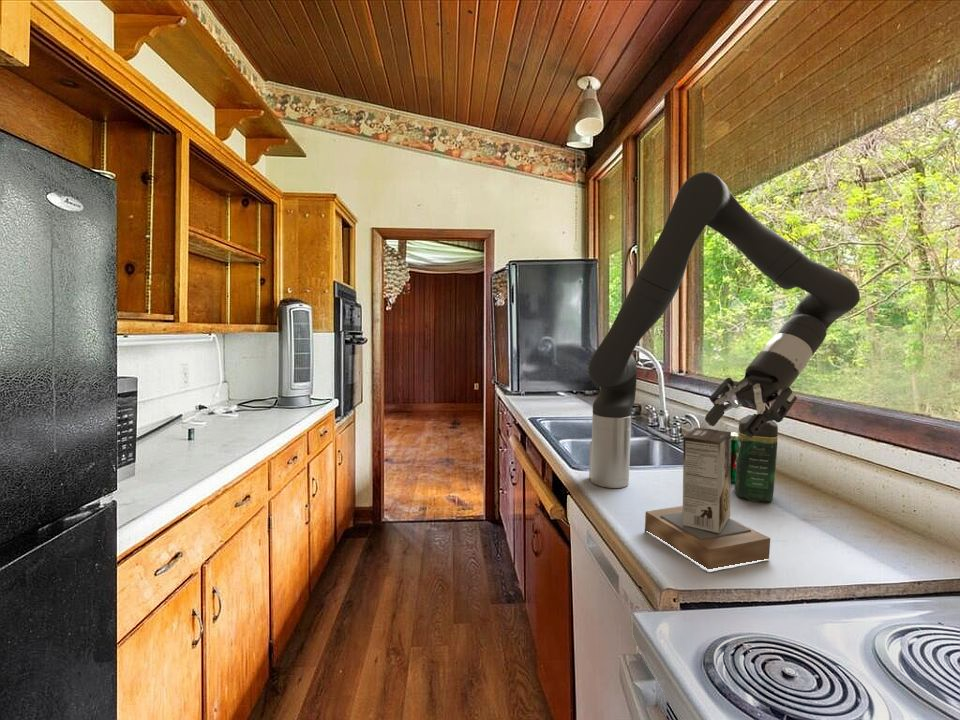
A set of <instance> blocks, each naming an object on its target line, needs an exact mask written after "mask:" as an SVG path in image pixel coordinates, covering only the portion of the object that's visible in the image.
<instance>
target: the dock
mask: <svg viewBox="0 0 960 720" xmlns="http://www.w3.org/2000/svg"><path fill="white" fill-rule="evenodd" d="M644 520H645V523H644V531H645V530H646V531H648V532H650V533H652V534H653V535H655V536H657V537H659V538H660V539H662V540H663V541H665V542H667V543H668V544H670V545H671V546H673V547H674V548H676V549H677V550H679V551H680V552H682V553H683V554H685V555H687V556H688V557H690V558H691V559H693V560H694V561H696V562H698V563H699V564H701V565H703V566H704V567H706V568H707V569H713V568H718V567H724V566H729V565H735V564H740V563H746V562H752V561H757V560H764V559H769V560H770V553H771V552H770V549H771V537H769V536H767V535H765V534H763V533H761V532H759V531H757V530H755V529H753V528H750V527H749V526H747V525H744V524H743V523H741V522H738V521H737V520H735V519H733V518H730V517H729V519H728V521H727V522H726V524H725V525H724V527H723V529H722V530H721V532H720V533H715V532H711V531H706V530H702V529H698V528H693V527H689V526H685V525H683V505H679V506H674V507H672V506H671V507H665V508H659V509H653V510H646V511H645V519H644Z"/></svg>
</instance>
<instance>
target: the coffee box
mask: <svg viewBox="0 0 960 720" xmlns="http://www.w3.org/2000/svg"><path fill="white" fill-rule="evenodd" d="M731 432H732V431H724V430H718V429H713V428H704V427H695V428H693V429H692V430H691V431H690V432H689V433H686V435H684V436H683V448H682V449H683V452H682V453H683V454H682V455H683V458H682V459H683V463H682V465H683V466H682V467H683V468H682V471H683V472H682V506H683V525H685V526H689V527H693V528H698V529H702V530H706V531H711V532H715V533H720V532H721V530H722V529H723V527H724V525H725V524H726V522H727V521H728V519H729V518H730V517H731V487H732V486H731V484H732V483H731Z"/></svg>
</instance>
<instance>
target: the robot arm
mask: <svg viewBox="0 0 960 720" xmlns="http://www.w3.org/2000/svg"><path fill="white" fill-rule="evenodd" d="M674 199H675V200H674V202H673V204H672V206H671V207H672V208H671V210H670V212H669V215H668V217H667V219H666V222H665V224H664V226H663V229H662V231H661V232H660V234H659V237H658V238H657V240H656V241H655V243H654V245H653V246H652V249H651V250H650V252H649V254H648V256H647V257H646V259H645V261H644V263H643V264H642V267H641V268H640V270H639V272H638V274H637V275H636V277H635V279H634V281H633V282H632V285H631V287H630V288H629V291H628V293H627V295H626V298H625V300H624V301H623V303H622V305H621V307H620V309H619V311H618V313H617V315H616V317H615V320H614V321H613V323H612V325H611V326H610V328H609V330H608V332H607V334H606V335H605V337H604V338H603V339H602V341H601V342H600V344H599V346H598V347H597V349H596V350H595V352H594V353H593V355H592V356H591V358H590V361H589V364H588V376H589V379H590V381H591V382H592V384H594V385H595V386H596V387H598V388H600V389H599V394H598V395H597V397H596V399H595V400H594V401H593V403H592V419H591V420H592V421H591V423H592V424H591V425H592V427H591V440H590V442H589V468H588V469H589V471H588V473H589V474H588V477H589V479H590V482H591V483H592V484H594V485H596V486H599V487H603V488H609V489H610V488H611V489H621V488H625V487H627V486H628V485H629V481H630V461H631V460H630V459H631V458H630V456H631V440H632V439H631V435H632V433H631V432H632V410H633V409H632V408H633V406H634V403H635V401H636V391H637V378H638V367H637V361H636V359H635V356H633V353H634V350H635V349H636V347H637V345H638V343H639V342H640V340H641V339H643V337H644V336H645V335H646V334H647V332H648V331H649V330H650V329H652V327H653V326H654V325H655V324H656V323H657V322H658V321H659V320H660V318H661V317H662V316H663V314H664V313H665V312H666V311H667V309H668V308H669V306H670V304H671V303H672V301H673V299H674V297H675V295H676V293H677V292H678V290H679V288H680V285H681V284H682V281H683V278H684V276H685V273H686V269H687V267H688V264H689V263H688V262H689V259H690V256H691V253H692V251H693V249H694V246H695V244H696V242H697V240H698V238H700V236H701V234H702V233H703V231H704V229H705V228H706V226H707V227H709V228H711V229H713V231H716V232H718V233H719V234H721V235H722V236H723V237H724V238H725V239H727V240H728V241H730V242H731V243H732V244H733V245H734V246H735V247H736V248H737V249H738V250H739V251H740V252H741V253H742V254H743V255H744V256H745V258H746V259H748V260H749V262H751V264H753V265H754V266H755V267H756V268H757V269H759V271H760V272H761V273H763V274H764V275H765V276H766V277H767V278H769V280H770V281H772V282H774V283H775V285H777V286H778V287H779V288H781V289H783V290H785V291H786V290H787V291H789V290H793V289H795V288H798V289H800V290H803V291H804V292H807V294H806V295H804V297H803V298H802V299H801V300H800V302H799V303H798V304H797V305H796V307H795V308H794V310H793V312H792V314H791V315H790V316H789V319H788V320H787V321H786V322H785V323H784V324H783V325H782V326H781V328H780V329H779V330H778V331H777V333H776V334H775V335H774V336H773V337H772V338H771V339H770V340H769V341H767V343H766V344H765V345H764V346H763V348H762V349H761V350H760V351H759V352H758V354H757V355H756V356H755V357H754V358H753V360H752V361H751V362H750V364H749V365H748V366H747V367H746V369H745V375H744V377H743V378H742V379H741V380H739V381H734V380H733V378H731V377H727V378H726V379H724V381H723V382H722V383H721V384H720V385H719V386H718V388H716V390H715V391H714V392H713V393H712V394H711V395H710V396H709V399H708V400H709V401H711V403H712V404H713V406H712V407H711V408H710V410H709V411H708V412H707V414H706V415H705V417H704V419H705V422H706V423H707V424H708V425H709V426H710V427H715V426H716V424H718V422H719V421H720V420H721V418H722V417H723V416H724V414H725V412H727V411H728V410H729V411H730V410H731V409H738V408H740V407H742V406H743V407H750V408H751V409H756V413H753V414H752V415H753V416H752V417H751V418H750V420H749V421H748V422H747V423H746V425H745V426H744V427H743V432H744V433H745V434H746V436H748V437H753V436H754V435H756V434H757V433H758V432H759V431H760V429H761V428H762V427H763V426H764V424H765V423H768V422H770V421H774V422H775V423H780V422H782V421H783V419H785V417H786V415H787V414H788V412H789V411H790V410H791V408H792V406H793V405H794V404H795V403H796V401H797V399H798V397H797V395H796V394H795V393H794V391H793V390H792V389H791V386H792V384H793V383H794V382H795V381H796V380H797V378H799V375H800V374H802V372H803V370H805V368H806V366H807V365H808V363H809V362H810V361H811V358H812V356H813V355H815V353H816V352H817V350H818V349H819V348H820V347H821V345H822V344H823V342H824V341H825V339H826V337H827V334H828V333H827V332H828V331H827V330H828V329H829V328H830V327H831V325H832V324H834V322H836V320H838V319H839V318H841V317H843V316H844V315H845V314H847V313H848V312H850V311H851V310H852V309H854V308H855V307H856V306H857V305H858V304H859V302H860V299H861V296H860V291H859V288H858V287H857V284H855V283H854V281H853V280H851V278H849V277H847V276H846V275H844V274H842V273H840V272H839V271H837V270H834V269H832V268H830V267H828V266H826V265H824V264H821V263H820V262H819V263H818V262H816V261H814V260H812V259H810V258H809V257H808V256H807V255H805V253H803V252H802V251H801V250H800V249H798V248H797V247H796V246H795V245H794V244H792V243H790V242H789V241H788V240H787V239H785V238H784V237H782V235H780V234H779V233H777V232H775V231H774V230H773V229H772V228H770V227H767V226H766V225H765V224H764V223H762V222H761V221H759V220H758V219H757V218H756V217H754V216H753V215H752V214H751V213H750V212H749V211H748V210H747V209H746V208H744V207H743V205H742V204H741V203H740V201H738V200H737V199H736V197H735V196H734V195H733V194H732V192H731V191H730V189H729V187H728V185H727V184H726V182H725V181H723V179H721V178H720V177H719V176H718V175H717V174H714V173H713V172H707V171H703V172H699V173H695V174H693V175H692V176H690V177H688V179H686V180H685V181H684V183H683V184H682V185H681V187H680V188H679V189H678V192H677V195H676V197H675V198H674ZM734 396H735V398H736V400H735V399H734ZM719 397H720V398H719ZM726 402H727V403H726ZM771 402H773V403H771Z"/></svg>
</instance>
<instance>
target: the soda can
mask: <svg viewBox="0 0 960 720" xmlns="http://www.w3.org/2000/svg"><path fill="white" fill-rule="evenodd" d="M730 432H731V484H735V476H736V462H737V447H738V432H734V431H730Z"/></svg>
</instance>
